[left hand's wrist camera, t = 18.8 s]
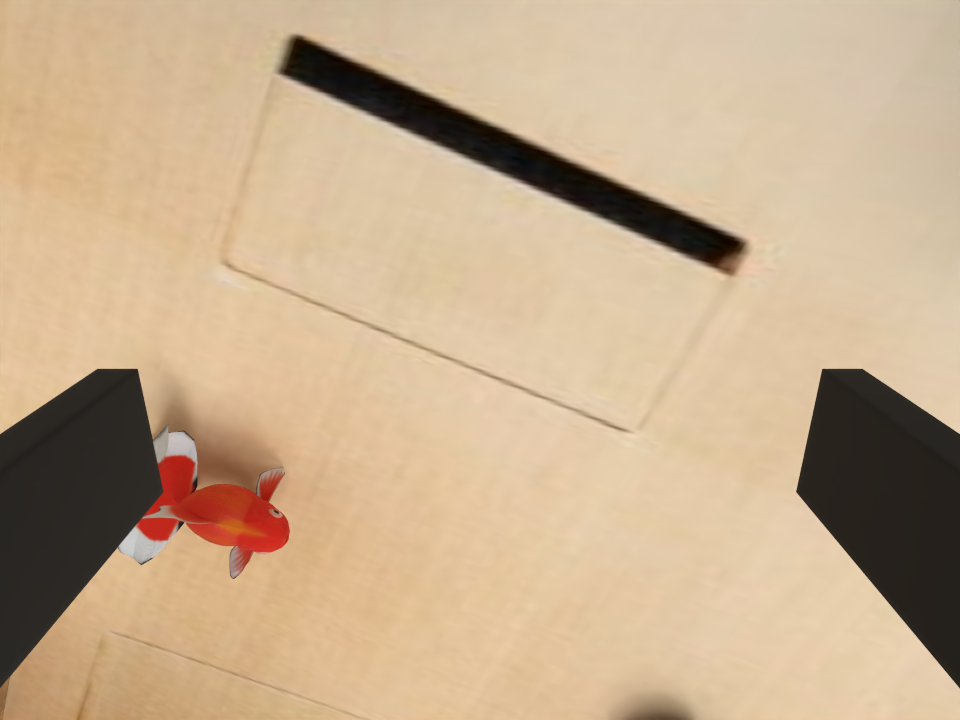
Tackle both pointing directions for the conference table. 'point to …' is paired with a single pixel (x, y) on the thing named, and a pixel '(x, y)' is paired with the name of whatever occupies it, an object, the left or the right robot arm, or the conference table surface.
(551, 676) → the conference table surface
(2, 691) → the box
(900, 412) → the left robot arm
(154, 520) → the fish
